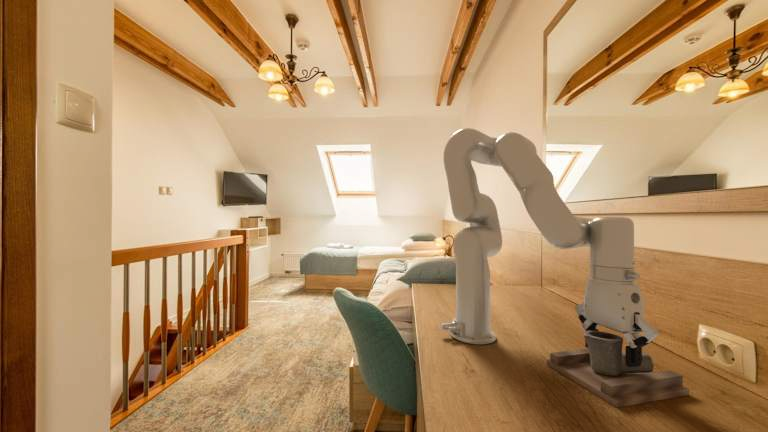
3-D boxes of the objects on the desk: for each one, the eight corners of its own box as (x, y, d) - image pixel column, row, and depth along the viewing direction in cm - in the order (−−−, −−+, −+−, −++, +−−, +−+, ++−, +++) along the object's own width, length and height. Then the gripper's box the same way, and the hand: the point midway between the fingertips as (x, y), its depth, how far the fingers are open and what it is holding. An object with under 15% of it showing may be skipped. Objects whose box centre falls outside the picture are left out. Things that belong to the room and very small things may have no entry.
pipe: (660, 381, 59) (659, 342, 59) (593, 378, 59) (593, 339, 60) (635, 366, 65) (635, 330, 65) (576, 364, 66) (576, 328, 66)
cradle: (616, 407, 52) (616, 389, 52) (546, 364, 68) (546, 350, 68) (689, 394, 56) (689, 378, 56) (607, 357, 72) (607, 344, 72)
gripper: (672, 281, 55) (673, 375, 54) (588, 267, 72) (588, 338, 71) (642, 283, 53) (643, 379, 53) (563, 268, 70) (562, 341, 70)
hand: (611, 355), depth 62 cm, fingers open, 8 cm apart
